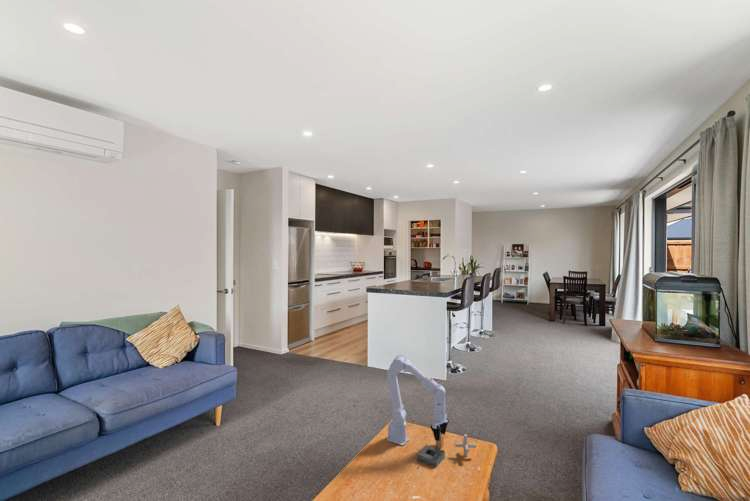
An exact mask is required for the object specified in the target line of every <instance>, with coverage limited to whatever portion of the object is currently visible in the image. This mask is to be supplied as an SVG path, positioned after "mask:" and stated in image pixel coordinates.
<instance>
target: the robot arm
mask: <svg viewBox="0 0 750 501" xmlns="http://www.w3.org/2000/svg"><path fill="white" fill-rule="evenodd" d="M402 371H403V373H410V374H412V376H414V377H415V378H417V379H418V380H419V381H421V384H422V386H423V387H424V388H425V389H426V390H427V391H428V392H430V393H431V394H432V395H433V398H434V401H433V404H434V405H433V407H434V408H433V410H434V411H433V413H434V414H433V416H434V418H433V422H432V424H431V425H430V429H431V431H432V434H433V438H434V440H435V441H436V440H437V441H439V439H440V433H442V434H444V435H446V432H447V428H448V425H449V422H450V419H448V414H447V413H446V388H445V387H444V386H443V385H442V384H440V383H437V382H436V381H435V380H434V377H432V376H429V375H424V373H423V372H422V371H420V370H419V369H418V368H417V367H416V366H415V365H414V364H413V363H412V361H410V360H409V359H408V358H406V356H405V355H402V354H399V355H397V356H396V357H395V358H394V359H393V360H392V362H391V363H390V364H389V368H388V370H387V373H386V376H387V381H388V388H389V393H390V398H391V402H392V418H391V421H389V423H388V426H387V439H386V441H388V442H389V443H394V444H397V445H399V446H404V445H405V444H406V443H408V441H409V440H410V438H409V437H407V421H406V417H407V411H406V410H405V408H404V407H405V406H404V404H403V401H402V396H401V391H400V385H399V380H398V374H399V373H401V372H402Z"/></svg>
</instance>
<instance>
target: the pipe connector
mask: <svg viewBox="0 0 750 501" xmlns="http://www.w3.org/2000/svg"><path fill="white" fill-rule="evenodd" d="M454 447H455V448H463V457H465V458H466V457H468V453H469V452H470V449H471V448H472V449H477V444H476V443H469V442H468V434H465V433H464V434H463V438H462V442H455V443H454Z"/></svg>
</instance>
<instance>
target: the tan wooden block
mask: <svg viewBox="0 0 750 501" xmlns="http://www.w3.org/2000/svg"><path fill="white" fill-rule="evenodd" d="M444 438H445V436H444V434H442V433H441V432H440V439H439V441H437V440H435V448H438V449H442V448H443V447H444V444H445V442H444V441H445V439H444Z"/></svg>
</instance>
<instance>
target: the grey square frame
mask: <svg viewBox="0 0 750 501" xmlns="http://www.w3.org/2000/svg"><path fill="white" fill-rule="evenodd" d="M445 452H446V451H445V450H443V449H441V448H438V447H434V446H432V445H428V444H425V445H424V446H423V447H422V448H421V450H420V451H418V453H417V454H416V461H417V462H420V463H423V464H425V465H429V466H432V467H434V468H437V467H438V466H439V465H440V463H441V462H442V461H443V460H444V459H445V456H446V455H445V454H446V453H445Z"/></svg>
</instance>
